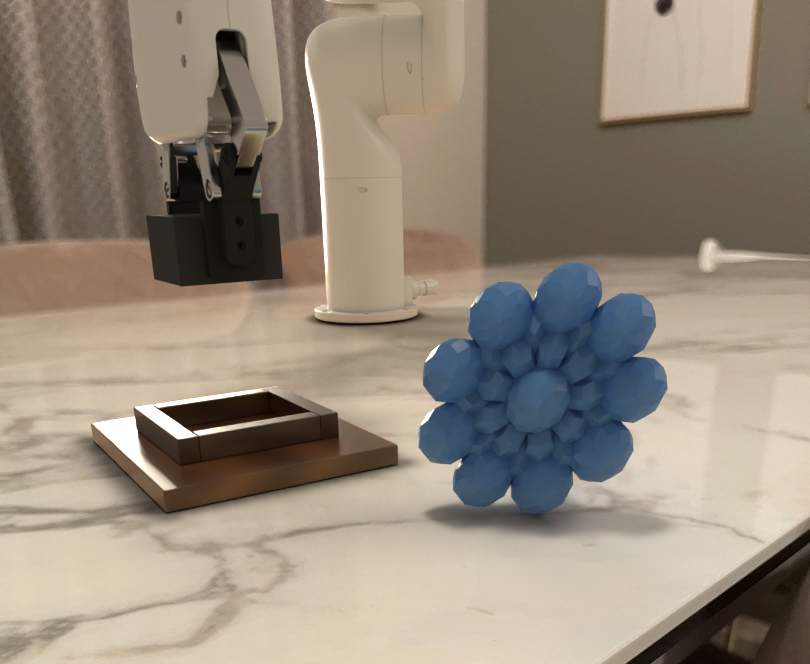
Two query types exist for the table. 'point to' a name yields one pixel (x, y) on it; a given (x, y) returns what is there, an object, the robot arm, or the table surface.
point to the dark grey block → (200, 249)
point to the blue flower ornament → (541, 390)
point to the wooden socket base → (236, 446)
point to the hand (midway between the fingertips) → (218, 271)
